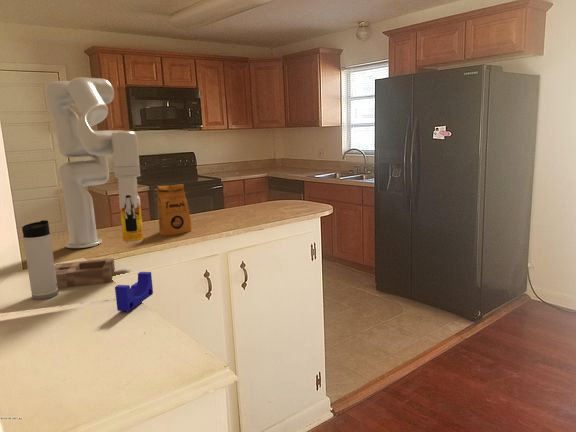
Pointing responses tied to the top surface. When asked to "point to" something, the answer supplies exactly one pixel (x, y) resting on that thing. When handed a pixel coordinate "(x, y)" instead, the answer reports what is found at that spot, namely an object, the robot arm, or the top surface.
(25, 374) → the top surface
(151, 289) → the cable clip
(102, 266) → the brown wooden slotted block
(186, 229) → the coffee package
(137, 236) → the beer can
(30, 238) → the travel mug
